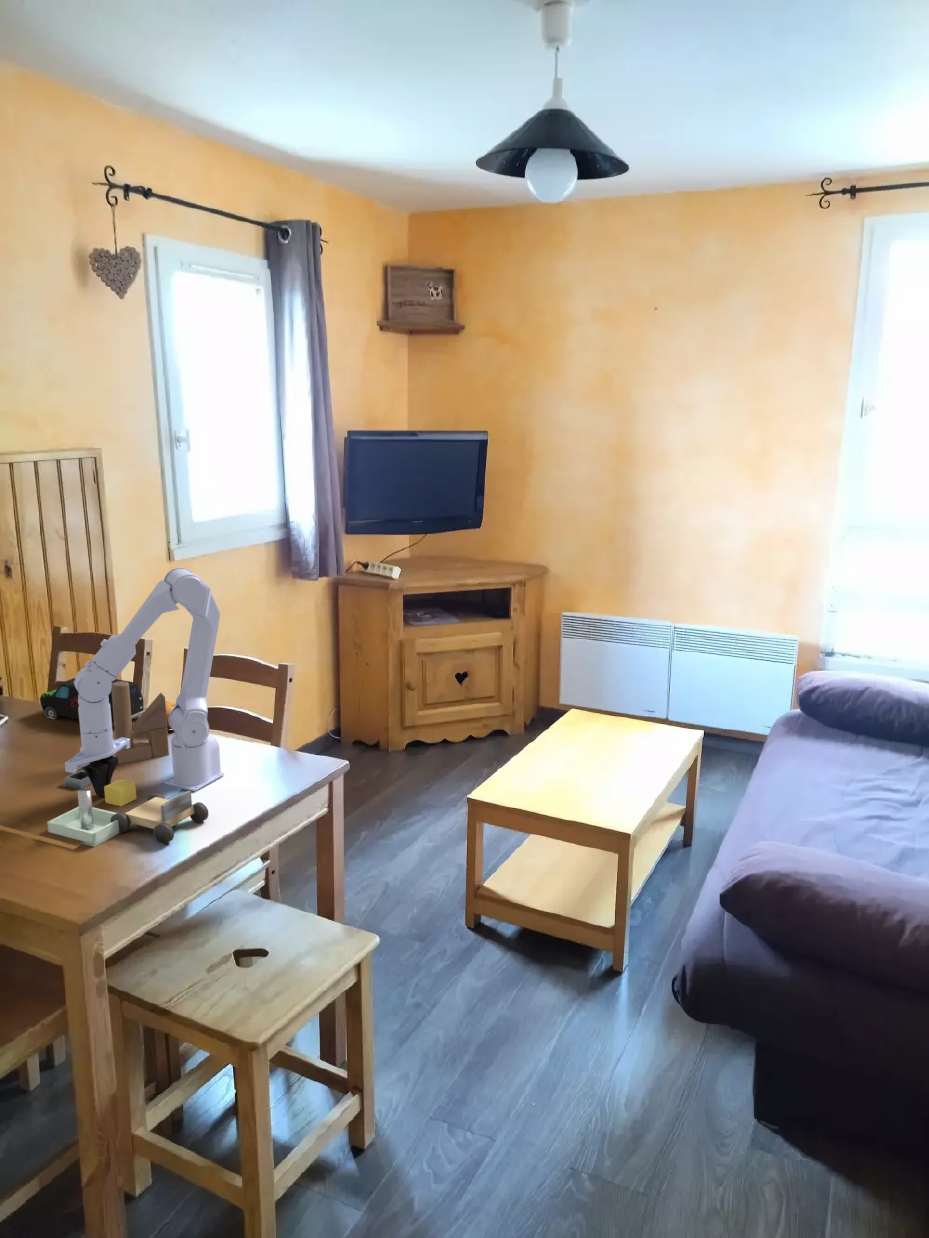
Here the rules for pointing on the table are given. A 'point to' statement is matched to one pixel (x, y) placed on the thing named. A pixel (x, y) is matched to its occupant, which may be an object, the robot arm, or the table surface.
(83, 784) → the pin socket
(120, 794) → the yellow cube
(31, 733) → the table surface
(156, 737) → the wooden block
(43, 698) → the toy van
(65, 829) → the tray
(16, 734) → the table surface
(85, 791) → the pin
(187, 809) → the trolley
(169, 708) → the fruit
